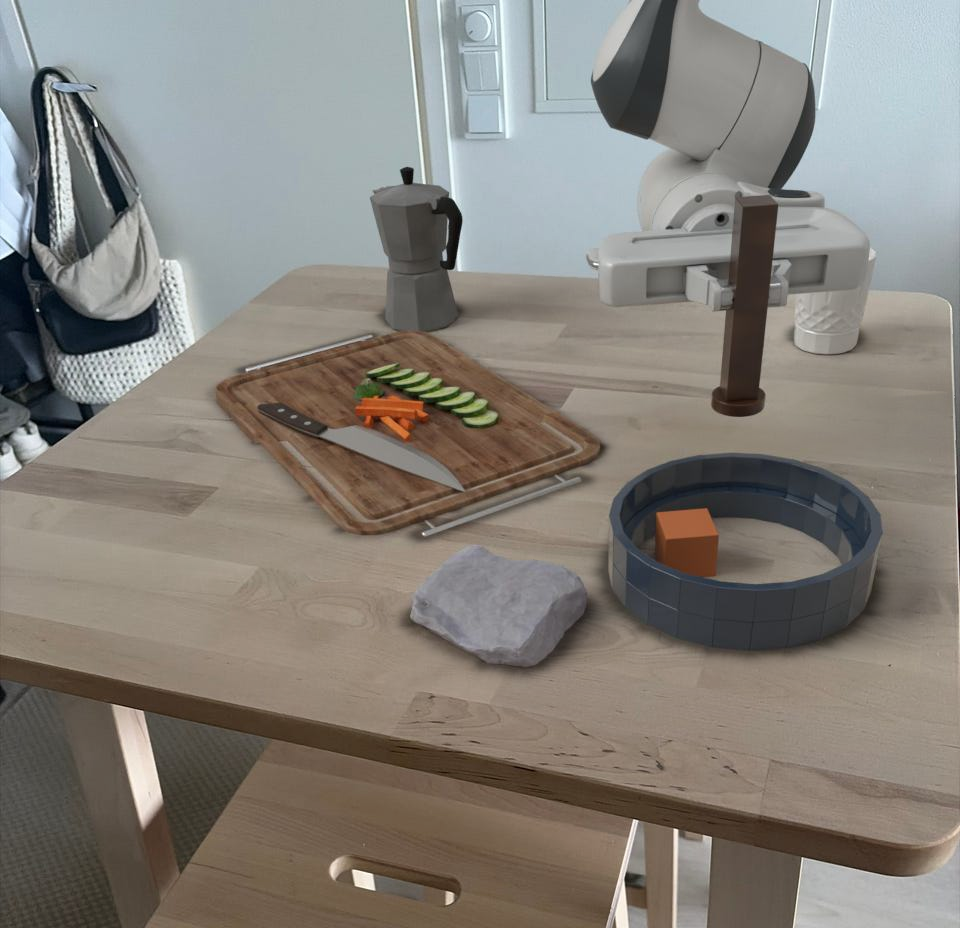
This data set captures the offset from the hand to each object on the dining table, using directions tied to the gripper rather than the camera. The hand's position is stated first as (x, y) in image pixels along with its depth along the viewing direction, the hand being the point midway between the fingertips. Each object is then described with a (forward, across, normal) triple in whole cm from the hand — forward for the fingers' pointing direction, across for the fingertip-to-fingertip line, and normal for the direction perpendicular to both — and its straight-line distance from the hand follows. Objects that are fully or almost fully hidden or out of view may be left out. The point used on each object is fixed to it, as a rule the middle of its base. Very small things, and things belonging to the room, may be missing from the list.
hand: (751, 298), depth 73 cm
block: (+5, -4, +19) cm, 20 cm away
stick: (-1, 0, +9) cm, 9 cm away
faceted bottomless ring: (+6, -1, +20) cm, 21 cm away
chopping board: (-26, -29, +20) cm, 44 cm away
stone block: (+10, -20, +20) cm, 30 cm away
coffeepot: (-55, -26, +20) cm, 64 cm away
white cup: (-39, +19, +20) cm, 48 cm away
